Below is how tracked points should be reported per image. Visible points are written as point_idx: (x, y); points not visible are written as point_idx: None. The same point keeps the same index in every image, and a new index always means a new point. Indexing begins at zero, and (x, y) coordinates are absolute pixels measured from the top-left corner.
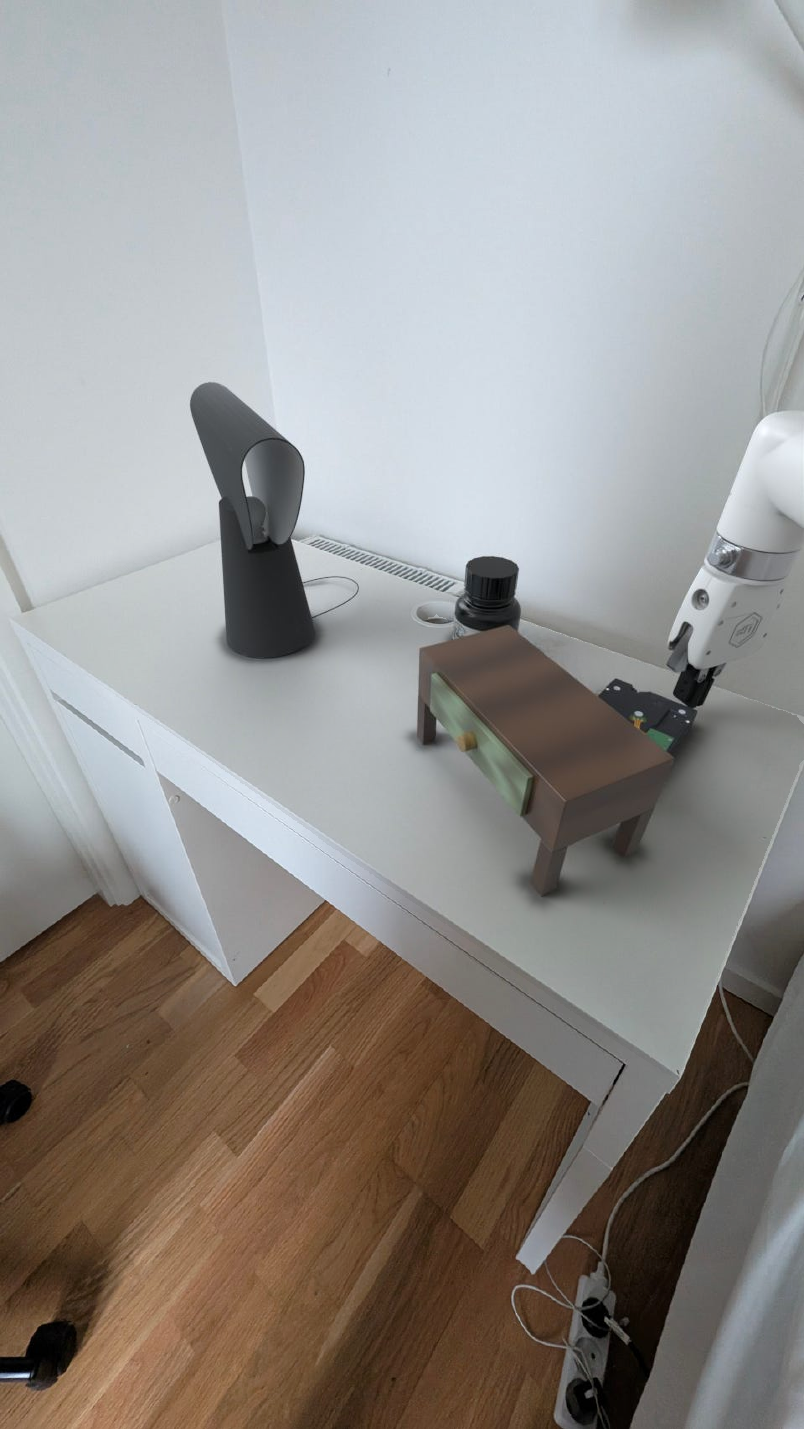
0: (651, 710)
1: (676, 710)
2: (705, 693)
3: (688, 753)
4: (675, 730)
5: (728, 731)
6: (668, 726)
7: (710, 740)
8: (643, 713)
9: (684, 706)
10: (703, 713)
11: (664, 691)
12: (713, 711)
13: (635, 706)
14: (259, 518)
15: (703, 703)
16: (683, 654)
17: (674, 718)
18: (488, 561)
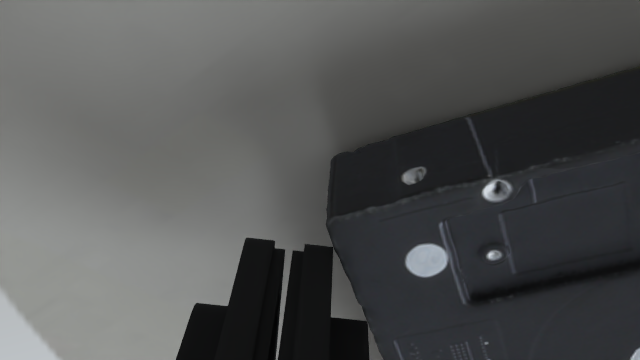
0: (569, 343)
1: (443, 281)
2: (258, 316)
3: (553, 15)
4: (627, 176)
5: (155, 17)
6: (614, 219)
7: (328, 21)
8: (632, 348)
9: (364, 280)
10: (164, 183)
11: None
12: (98, 167)
13: None
14: None
15: (244, 245)
16: None
17: (511, 244)
18: None
